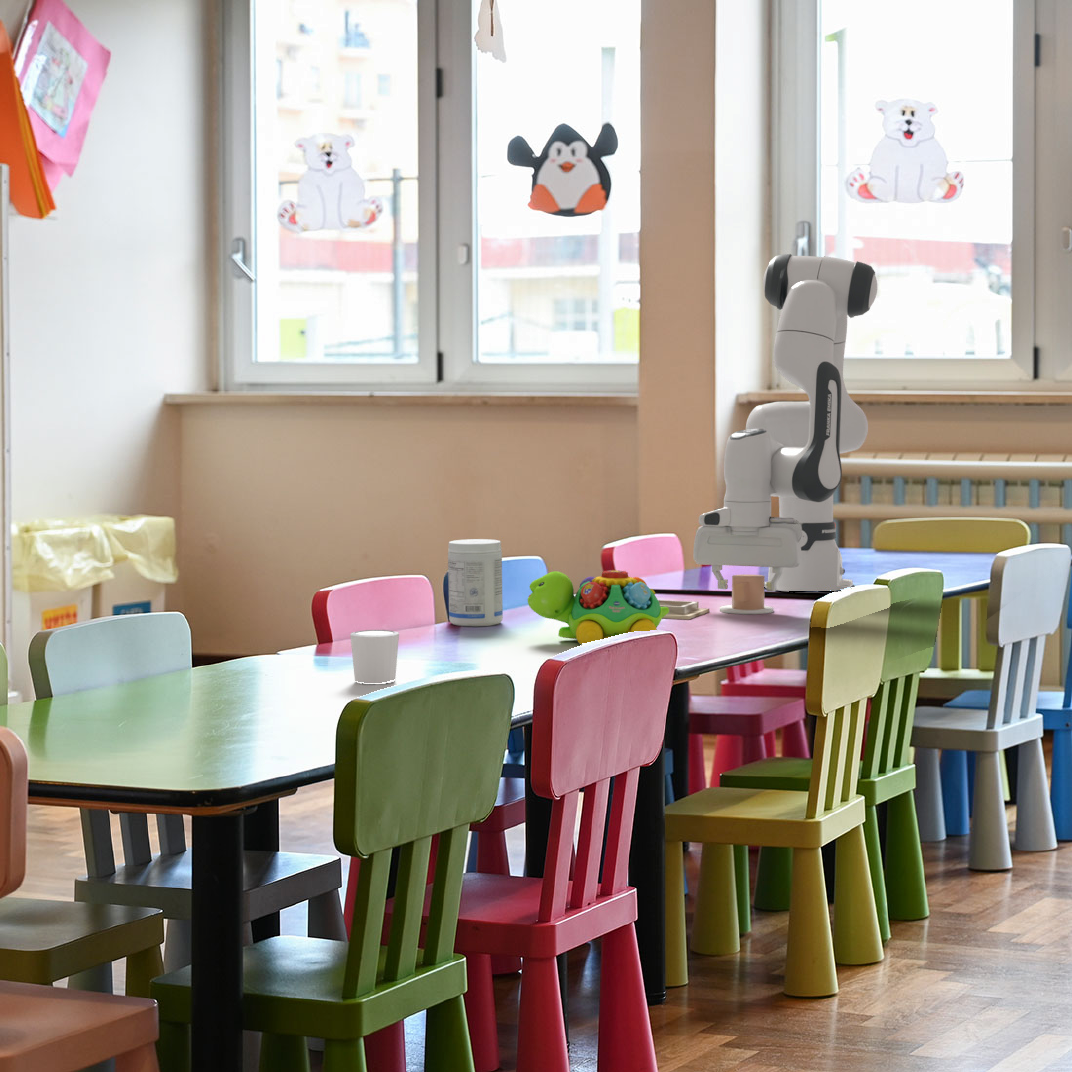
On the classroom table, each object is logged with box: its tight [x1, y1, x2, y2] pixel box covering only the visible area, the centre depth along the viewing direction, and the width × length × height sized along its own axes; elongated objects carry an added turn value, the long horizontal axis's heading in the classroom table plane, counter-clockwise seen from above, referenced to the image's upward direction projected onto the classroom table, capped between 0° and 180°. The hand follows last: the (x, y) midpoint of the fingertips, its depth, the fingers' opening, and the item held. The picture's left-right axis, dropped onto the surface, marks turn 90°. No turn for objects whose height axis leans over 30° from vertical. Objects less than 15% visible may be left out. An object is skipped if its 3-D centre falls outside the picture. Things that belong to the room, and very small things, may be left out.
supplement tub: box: [447, 538, 504, 627], centre depth 304 cm, size 10×10×15 cm
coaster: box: [719, 604, 775, 615], centre depth 322 cm, size 10×10×1 cm
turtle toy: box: [527, 569, 669, 645], centre depth 282 cm, size 17×23×12 cm
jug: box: [731, 573, 766, 610], centre depth 320 cm, size 6×10×6 cm, turn 158°
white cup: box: [349, 629, 400, 683], centre depth 242 cm, size 7×7×7 cm
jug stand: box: [658, 599, 710, 620], centre depth 318 cm, size 12×12×2 cm
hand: (746, 590), depth 322 cm, fingers open, 8 cm apart
